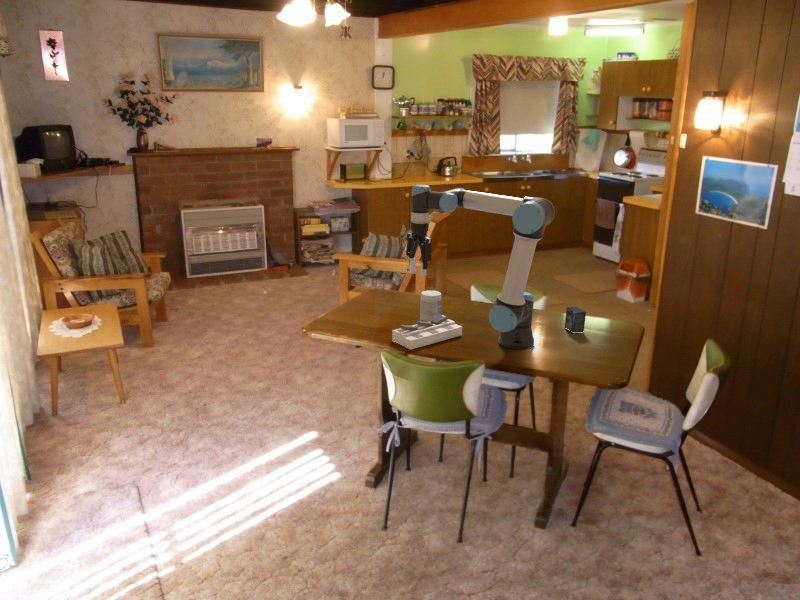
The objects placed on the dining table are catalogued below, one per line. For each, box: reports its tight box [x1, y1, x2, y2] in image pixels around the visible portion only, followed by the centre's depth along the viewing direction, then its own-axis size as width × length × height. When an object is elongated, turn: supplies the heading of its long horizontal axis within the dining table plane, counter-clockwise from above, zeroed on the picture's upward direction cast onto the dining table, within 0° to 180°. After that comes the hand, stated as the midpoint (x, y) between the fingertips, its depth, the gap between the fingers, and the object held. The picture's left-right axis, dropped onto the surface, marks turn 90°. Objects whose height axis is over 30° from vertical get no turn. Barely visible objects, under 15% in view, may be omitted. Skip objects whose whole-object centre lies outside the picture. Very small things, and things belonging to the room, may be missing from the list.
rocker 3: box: [431, 314, 449, 325], centre depth 307 cm, size 3×7×2 cm, turn 130°
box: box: [564, 306, 587, 332], centre depth 314 cm, size 8×6×11 cm
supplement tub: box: [419, 290, 442, 322], centre depth 318 cm, size 10×10×15 cm
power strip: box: [391, 318, 464, 350], centre depth 302 cm, size 12×36×5 cm, turn 130°
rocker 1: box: [399, 324, 417, 331], centre depth 295 cm, size 3×7×2 cm, turn 130°
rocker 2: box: [415, 320, 433, 327], centre depth 301 cm, size 3×7×2 cm, turn 130°
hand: (417, 274), depth 299 cm, fingers open, 6 cm apart
